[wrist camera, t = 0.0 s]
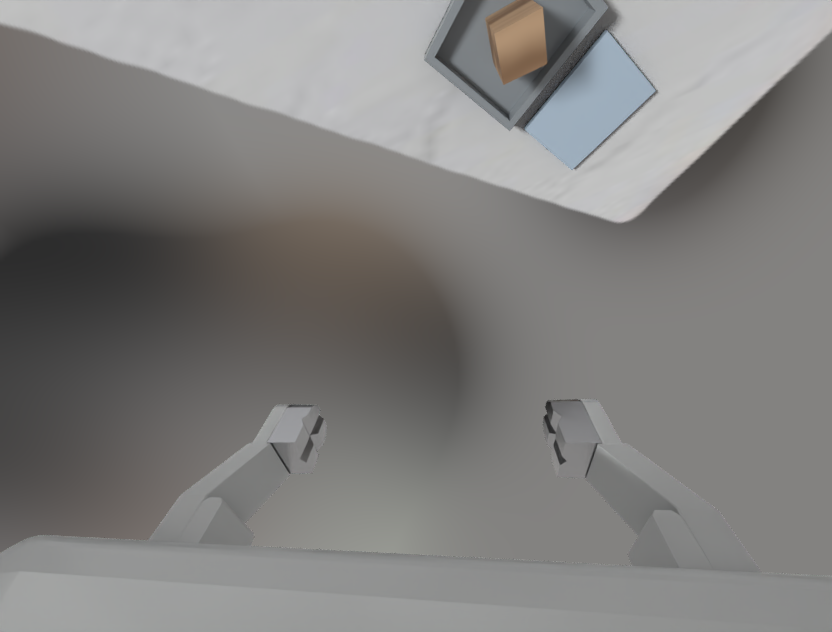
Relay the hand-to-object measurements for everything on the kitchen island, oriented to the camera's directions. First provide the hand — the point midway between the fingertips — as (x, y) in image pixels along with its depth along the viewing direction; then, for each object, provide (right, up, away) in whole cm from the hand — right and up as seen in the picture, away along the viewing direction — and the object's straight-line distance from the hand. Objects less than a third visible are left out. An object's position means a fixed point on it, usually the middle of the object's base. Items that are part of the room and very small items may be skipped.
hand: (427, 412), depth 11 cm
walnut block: (+12, +41, +29) cm, 52 cm away
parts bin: (+12, +42, +30) cm, 53 cm away
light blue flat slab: (+26, +36, +36) cm, 58 cm away
